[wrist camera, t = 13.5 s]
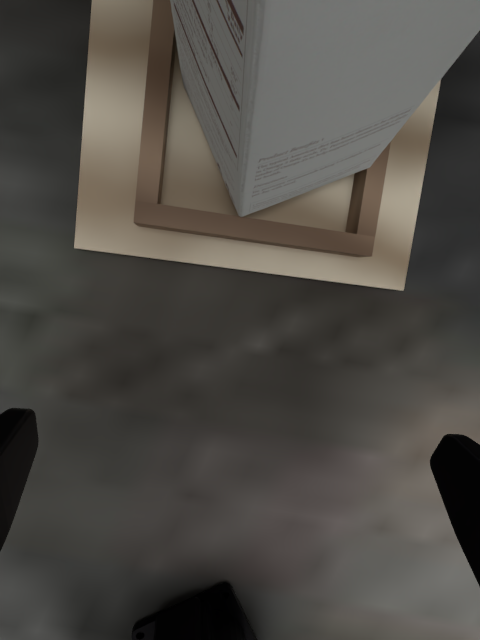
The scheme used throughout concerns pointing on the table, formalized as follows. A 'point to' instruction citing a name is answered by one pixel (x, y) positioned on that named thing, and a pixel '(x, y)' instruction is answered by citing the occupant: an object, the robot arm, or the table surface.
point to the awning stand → (206, 180)
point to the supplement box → (310, 83)
